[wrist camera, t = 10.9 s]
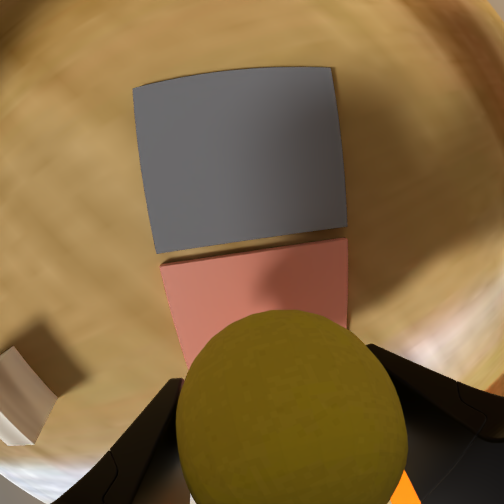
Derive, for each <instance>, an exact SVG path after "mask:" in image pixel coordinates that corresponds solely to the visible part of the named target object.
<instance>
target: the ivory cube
mask: <svg viewBox="0 0 504 504" xmlns="http://www.w3.org/2000/svg"><path fill="white" fill-rule="evenodd" d="M57 399H58V397H57V396H56V395H55V394H54V393H53V392H52V391H51V390H50V389H49V388H48V387H47V386H46V385H45V383H44V382H43V381H42V380H41V379H40V378H39V377H38V376H37V374H36V373H35V372H34V371H33V370H32V368H31V367H30V366H29V365H28V364H27V362H26V361H25V360H24V359H23V357H22V356H21V355H20V353H19V352H18V351H17V349H16V348H15V347H14V346H13V347H11V348H10V349H8V350H7V351H5V352H4V353H2V354H1V355H0V439H1V440H2V441H3V442H4V443H6V444H7V445H8V446H19V445H34V444H35V442H36V440H37V438H38V436H39V434H40V432H41V430H42V428H43V426H44V424H45V422H46V420H47V418H48V416H49V414H50V412H51V410H52V408H53V406H54V404H55V402H56V401H57Z"/></svg>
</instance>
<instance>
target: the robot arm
mask: <svg viewBox="0 0 504 504" xmlns="http://www.w3.org/2000/svg"><path fill="white" fill-rule="evenodd" d="M366 346H367V348H368V349H369V350H370V351H371V352H372V353H373V354H374V355H375V356H376V358H377V359H378V360H379V361H380V363H381V364H382V365H383V367H384V368H385V370H386V371H387V373H388V375H389V377H390V379H391V381H392V383H393V385H394V387H395V390H396V392H397V395H398V397H399V401H400V404H401V407H402V411H403V415H404V420H405V425H406V430H407V436H408V454H407V461H406V466H405V469H404V470H405V472H406V474H407V476H408V478H409V480H410V482H411V484H412V486H413V488H414V490H415V492H416V494H417V497H418V499H419V501H420V503H421V504H504V397H502V396H498V395H495V394H491V393H488V392H485V391H482V390H479V389H476V388H473V387H471V386H468V385H466V384H463V383H461V382H458V381H457V382H456V380H453V379H451V378H449V377H446V376H444V375H442V374H439V373H437V372H435V371H432V370H430V369H428V368H425V367H423V366H421V365H419V364H416V363H414V362H412V361H410V360H407V359H405V358H403V357H401V356H398V355H396V354H394V353H392V352H389V351H387V350H385V349H383V348H381V347H378V346H376V345H374V344H368V345H366ZM183 384H184V379H182V378H173V379H170V380H169V381H168V382H167V383H166V384H165V385H164V387H163V388H162V389H161V390H160V391H159V392H158V394H157V395H156V396H155V397H154V398H153V400H152V401H151V402H150V403H149V404H148V405H147V407H146V408H145V409H144V410H143V411H142V412H141V414H140V415H139V416H138V417H137V418H136V419H135V421H134V422H133V423H132V424H131V425H130V426H129V428H128V429H127V430H126V431H125V432H124V433H123V435H122V436H121V437H120V438H119V439H118V440H117V441H116V443H115V444H114V445H113V446H112V447H111V448H110V451H108V452H107V453H106V454H105V455H104V456H103V457H102V458H101V460H100V461H99V462H98V463H97V464H96V465H95V466H94V467H93V468H92V469H91V470H90V471H89V472H88V473H87V474H86V475H85V476H84V477H82V478H81V479H80V480H79V481H78V482H77V483H76V484H74V485H73V486H72V487H71V488H70V489H69V490H67V491H66V492H65V493H64V494H63V495H61V496H60V497H59V498H58V499H57V500H55V501H54V502H52V503H51V504H190V491H189V489H188V487H187V484H186V481H185V479H184V476H183V472H182V468H181V464H180V459H179V453H178V445H177V434H176V411H177V405H178V399H179V396H180V392H181V389H182V387H183Z"/></svg>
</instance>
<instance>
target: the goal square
mask: <svg viewBox="0 0 504 504" xmlns="http://www.w3.org/2000/svg"><path fill="white" fill-rule="evenodd" d="M160 271H161V275H162V279H163V283H164V287H165V291H166V295H167V299H168V303H169V306H170V310H171V314H172V317H173V321H174V325H175V328H176V331H177V335H178V338H179V342H180V345H181V348H182V351H183V354H184V358H185V361H186V364H187V367H188V370H189V369H190V366H191V364H192V362H193V361H194V359H195V358H196V356H197V355H198V354H199V353H200V351H201V350H202V349H203V348H204V346H205V345H206V344H207V343H208V341H209V340H210V339H211V338H212V337H213V336H215V335H216V334H217V333H219V332H220V331H221V330H223V329H224V328H225V327H227V326H228V325H229V324H231V323H233V322H235V321H238V320H240V319H242V318H244V317H247V316H249V315H251V314H255V313H260V312H265V311H269V310H301V311H305V312H309V313H314V314H318V315H321V316H324V317H326V318H328V319H330V320H331V321H333V322H335V323H337V324H339V325H341V326H343V327H344V328H346V326H347V301H348V239H346V238H345V237H344V238H337V239H330V240H323V241H316V242H309V243H302V244H296V245H289V246H282V247H275V248H268V249H261V250H254V251H247V252H241V253H234V254H227V255H220V256H213V257H206V258H199V259H193V260H186V261H179V262H172V263H165V264H161V265H160Z"/></svg>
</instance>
